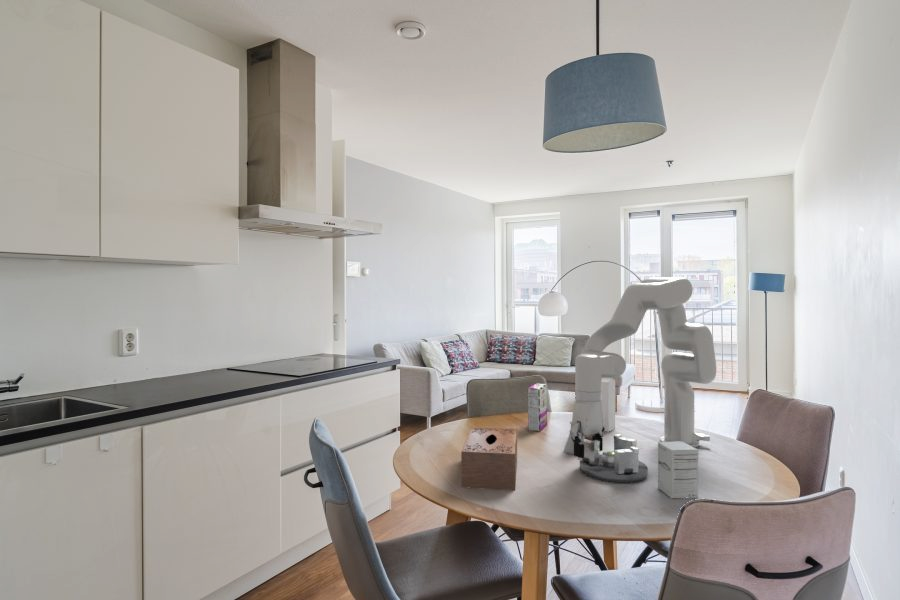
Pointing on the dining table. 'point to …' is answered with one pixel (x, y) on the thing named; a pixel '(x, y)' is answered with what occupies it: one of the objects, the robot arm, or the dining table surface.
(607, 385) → the milk
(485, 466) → the tissue box cover
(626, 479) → the levelling plate
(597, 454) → the knob front
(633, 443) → the knob
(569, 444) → the flask
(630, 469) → the knob
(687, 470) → the supplement box
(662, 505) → the dining table surface
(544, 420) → the candy bar box
